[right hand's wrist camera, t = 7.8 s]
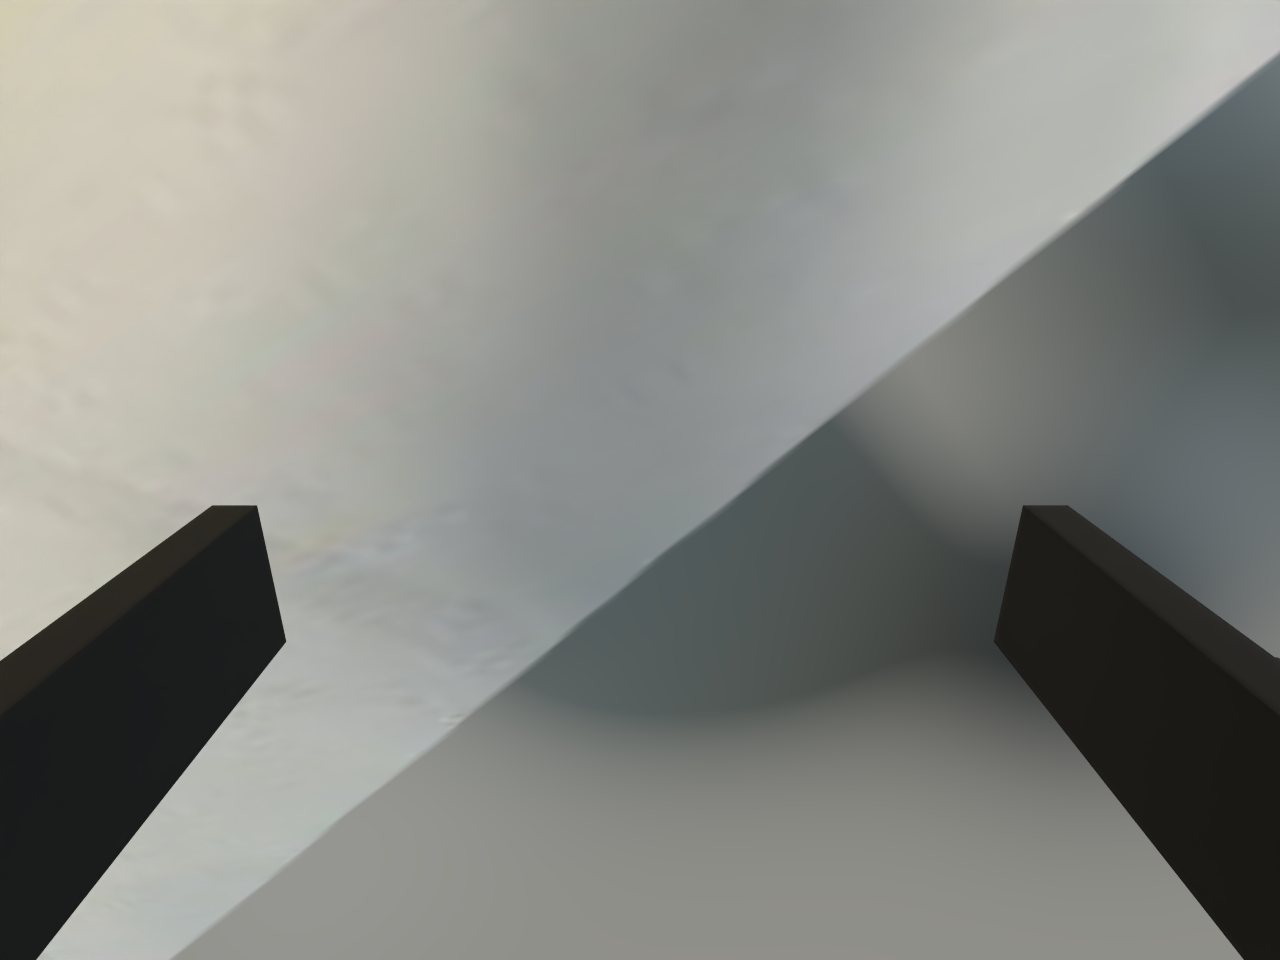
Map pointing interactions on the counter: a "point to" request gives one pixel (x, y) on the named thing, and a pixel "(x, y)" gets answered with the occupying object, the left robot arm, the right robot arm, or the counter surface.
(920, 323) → the counter surface
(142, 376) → the counter surface
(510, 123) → the counter surface
